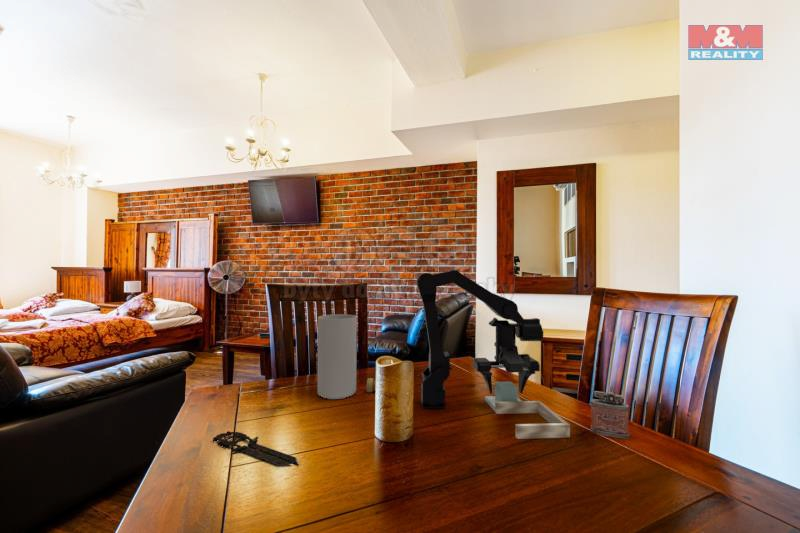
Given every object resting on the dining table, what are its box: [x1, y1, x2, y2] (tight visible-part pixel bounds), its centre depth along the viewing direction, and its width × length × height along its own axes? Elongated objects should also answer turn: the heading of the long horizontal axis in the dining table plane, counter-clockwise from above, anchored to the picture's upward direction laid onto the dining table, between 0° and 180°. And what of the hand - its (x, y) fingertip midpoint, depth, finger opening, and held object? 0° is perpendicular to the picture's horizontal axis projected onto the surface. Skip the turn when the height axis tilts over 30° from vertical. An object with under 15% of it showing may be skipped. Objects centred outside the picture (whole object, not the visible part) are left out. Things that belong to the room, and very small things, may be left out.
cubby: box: [494, 400, 571, 440], centre depth 86 cm, size 13×15×3 cm
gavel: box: [365, 377, 376, 393], centre depth 118 cm, size 21×5×10 cm
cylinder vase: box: [317, 313, 358, 400], centre depth 108 cm, size 12×12×25 cm
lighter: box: [590, 390, 630, 439], centre depth 81 cm, size 8×3×10 cm, turn 65°
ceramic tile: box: [484, 395, 523, 412], centre depth 99 cm, size 10×8×1 cm
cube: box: [494, 381, 519, 402], centre depth 98 cm, size 5×5×5 cm
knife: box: [212, 430, 300, 466], centre depth 72 cm, size 25×6×1 cm, turn 57°
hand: (505, 393), depth 99 cm, fingers open, 9 cm apart
